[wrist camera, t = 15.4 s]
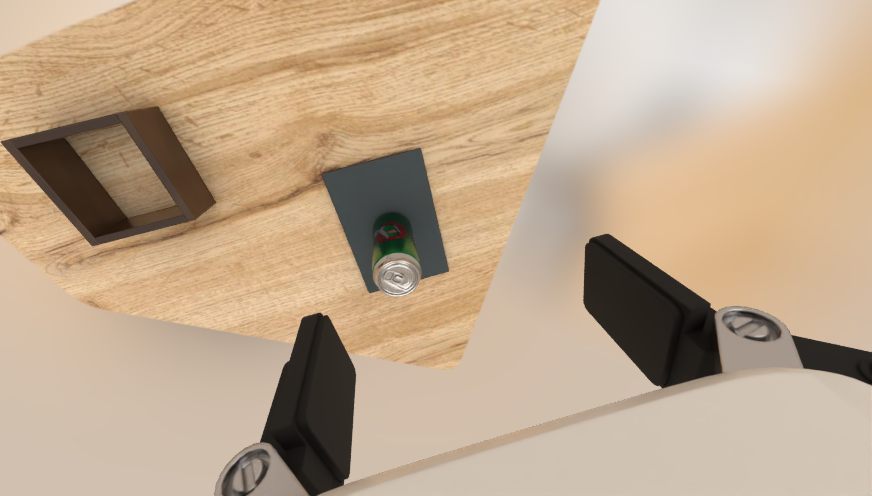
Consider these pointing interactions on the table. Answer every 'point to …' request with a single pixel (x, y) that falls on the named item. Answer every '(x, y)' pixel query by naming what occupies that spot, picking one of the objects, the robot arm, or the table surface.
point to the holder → (84, 194)
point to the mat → (387, 207)
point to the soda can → (395, 255)
